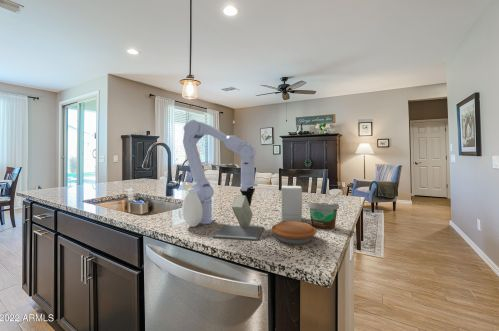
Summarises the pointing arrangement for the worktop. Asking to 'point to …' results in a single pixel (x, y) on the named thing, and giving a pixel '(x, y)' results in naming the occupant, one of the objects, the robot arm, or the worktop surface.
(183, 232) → the worktop surface
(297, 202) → the supplement box
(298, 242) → the pie
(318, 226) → the food container
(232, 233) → the mat
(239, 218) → the skincare box
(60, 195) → the worktop surface
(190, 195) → the white ellipsoid
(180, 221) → the worktop surface
